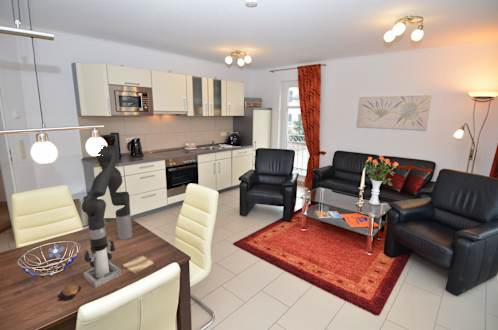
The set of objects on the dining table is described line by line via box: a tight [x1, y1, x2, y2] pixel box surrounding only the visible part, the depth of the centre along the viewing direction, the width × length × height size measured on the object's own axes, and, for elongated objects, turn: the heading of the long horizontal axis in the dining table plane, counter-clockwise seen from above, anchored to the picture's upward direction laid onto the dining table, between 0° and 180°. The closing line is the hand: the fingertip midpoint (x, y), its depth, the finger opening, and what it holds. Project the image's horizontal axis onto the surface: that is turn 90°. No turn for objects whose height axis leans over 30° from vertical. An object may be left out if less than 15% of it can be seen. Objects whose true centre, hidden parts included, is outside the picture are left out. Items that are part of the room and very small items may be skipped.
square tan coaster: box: [122, 255, 154, 275], centre depth 149 cm, size 12×12×1 cm
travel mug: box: [93, 244, 110, 280], centre depth 137 cm, size 6×7×20 cm
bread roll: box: [56, 284, 83, 302], centre depth 125 cm, size 11×8×4 cm
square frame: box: [83, 260, 122, 289], centre depth 138 cm, size 13×13×4 cm
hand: (101, 263), depth 137 cm, fingers open, 8 cm apart
